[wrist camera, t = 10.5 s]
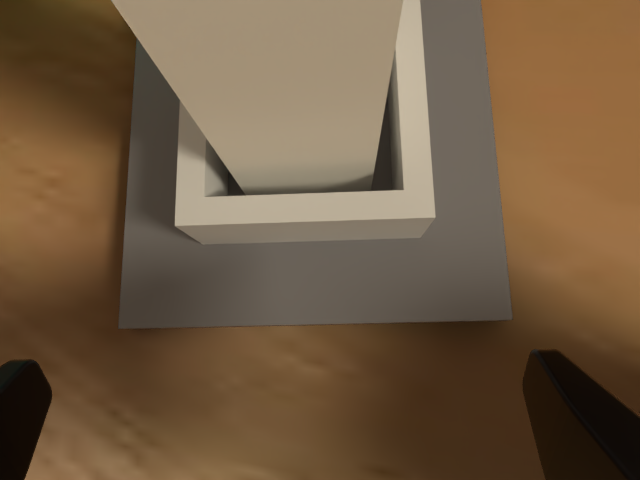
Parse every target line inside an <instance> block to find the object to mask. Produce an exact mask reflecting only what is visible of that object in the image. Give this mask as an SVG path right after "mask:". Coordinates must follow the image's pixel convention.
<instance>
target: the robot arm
mask: <svg viewBox="0 0 640 480" xmlns="http://www.w3.org/2000/svg"><path fill="white" fill-rule="evenodd" d="M522 386H523V394H524V398H525V402H526V406H527V410H528V414H529V418H530V422H531V426H532V430H533V434H534V437H535V441H536V445H537V449H538V453H539V457H540V461H541V465H542V468H543V472H544V476H545V479H546V480H640V417H639V416H638V415H637V414H636V413H635V412H633V411H632V410H631V409H630V408H628V407H627V406H626V405H625V404H624V403H622V402H621V401H620V400H619V399H617V398H616V397H615V396H614V395H613V394H611V393H610V392H609V391H608V390H606V389H605V388H604V387H603V386H602V385H600V384H599V383H598V382H597V381H595V380H594V379H593V378H592V377H591V376H589V375H588V374H587V373H586V372H584V371H583V370H582V369H581V368H580V367H578V366H577V365H576V364H575V363H573V362H572V361H571V360H570V359H569V358H567V357H566V356H565V355H564V354H562V353H561V352H560V351H558V350H556V349H535V350H532V351H531V353H530V355H529V358H528V362H527V366H526V370H525V374H524V377H523V384H522ZM51 399H52V390H51V387H50V385H49V383H48V381H47V379H46V377H45V375H44V374H43V372H42V370H41V368H40V366H39V364H38V363H37V362H36V361H34V360H31V359H26V360H11V361H9V362H7V363H5V364H4V365H2V366H1V367H0V480H24V479H25V477H26V474H27V471H28V469H29V466H30V463H31V460H32V457H33V454H34V451H35V448H36V445H37V442H38V439H39V436H40V433H41V430H42V427H43V424H44V421H45V418H46V415H47V412H48V409H49V406H50V403H51Z"/></svg>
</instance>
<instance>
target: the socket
mask: <svg viewBox="0 0 640 480" xmlns="http://www.w3.org/2000/svg"><path fill="white" fill-rule="evenodd" d="M507 320H513V316H512V306H511V296H510V286H509V276H508V266H507V256H506V246H505V236H504V226H503V216H502V206H501V196H500V186H499V176H498V167H497V157H496V147H495V137H494V127H493V117H492V107H491V97H490V87H489V77H488V67H487V57H486V47H485V37H484V27H483V17H482V7H481V0H403V5H402V11H401V16H400V22H399V28H398V34H397V40H396V46H395V51H394V57H393V63H392V69H391V75H390V81H389V87H388V92H387V98H386V104H385V110H384V116H383V122H382V127H381V133H380V139H379V145H378V151H377V157H376V162H375V168H374V174H373V180H372V186H371V191H361V192H333V193H304V194H276V195H247V196H246V195H245V193H244V192H243V190H242V189H241V187H240V186H239V185H238V183H237V182H236V180H235V179H234V177H233V176H232V174H231V173H230V172H229V170H228V169H227V167H226V166H225V164H224V163H223V161H222V160H221V159H220V157H219V156H218V154H217V153H216V151H215V150H214V148H213V147H212V146H211V144H210V143H209V141H208V140H207V138H206V137H205V135H204V134H203V133H202V131H201V130H200V128H199V127H198V125H197V124H196V122H195V121H194V119H193V118H192V117H191V115H190V114H189V112H188V111H187V109H186V108H185V106H184V105H183V104H182V102H181V101H180V99H179V98H178V96H177V95H176V93H175V92H174V91H173V89H172V88H171V86H170V85H169V83H168V82H167V80H166V79H165V78H164V76H163V75H162V73H161V72H160V70H159V69H158V67H157V66H156V65H155V63H154V62H153V60H152V59H151V57H150V56H149V54H148V53H147V51H146V50H145V49H144V47H143V46H142V44H141V43H140V41H139V40H138V38H137V40H136V56H135V72H134V88H133V103H132V119H131V135H130V151H129V166H128V182H127V198H126V214H125V229H124V245H123V261H122V277H121V293H120V308H119V324H118V329H161V328H206V327H251V326H296V325H340V324H385V323H430V322H475V321H507Z"/></svg>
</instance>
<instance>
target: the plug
mask: <svg viewBox="0 0 640 480" xmlns="http://www.w3.org/2000/svg"><path fill="white" fill-rule="evenodd" d="M111 1H112V2H113V4H114V5H115V7H116V8H117V10H118V11H119V12H120V14H121V15H122V17H123V18H124V20H125V21H126V23H127V24H128V25H129V27H130V28H131V30H132V31H133V33H134V34H135V36H136V37H137V38H138V40H139V41H140V43H141V44H142V46H143V47H144V49H145V50H146V51H147V53H148V54H149V56H150V57H151V59H152V60H153V62H154V63H155V65H156V66H157V67H158V69H159V70H160V72H161V73H162V75H163V76H164V78H165V79H166V80H167V82H168V83H169V85H170V86H171V88H172V89H173V91H174V92H175V93H176V95H177V96H178V98H179V99H180V101H181V102H182V104H183V105H184V106H185V108H186V109H187V111H188V112H189V114H190V115H191V117H192V118H193V119H194V121H195V122H196V124H197V125H198V127H199V128H200V130H201V131H202V133H203V134H204V135H205V137H206V138H207V140H208V141H209V143H210V144H211V146H212V147H213V148H214V150H215V151H216V153H217V154H218V156H219V157H220V159H221V160H222V161H223V163H224V164H225V166H226V167H227V169H228V170H229V172H230V173H231V174H232V176H233V177H234V179H235V180H236V182H237V183H238V185H239V186H240V187H241V189H242V190H243V192H244V193H245V195H246V196H247V195H276V194H304V193H333V192H361V191H371V186H372V180H373V174H374V168H375V162H376V157H377V151H378V145H379V139H380V133H381V127H382V122H383V116H384V110H385V104H386V98H387V92H388V87H389V81H390V75H391V69H392V63H393V57H394V51H395V46H396V40H397V34H398V28H399V22H400V16H401V11H402V5H403V0H111Z"/></svg>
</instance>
